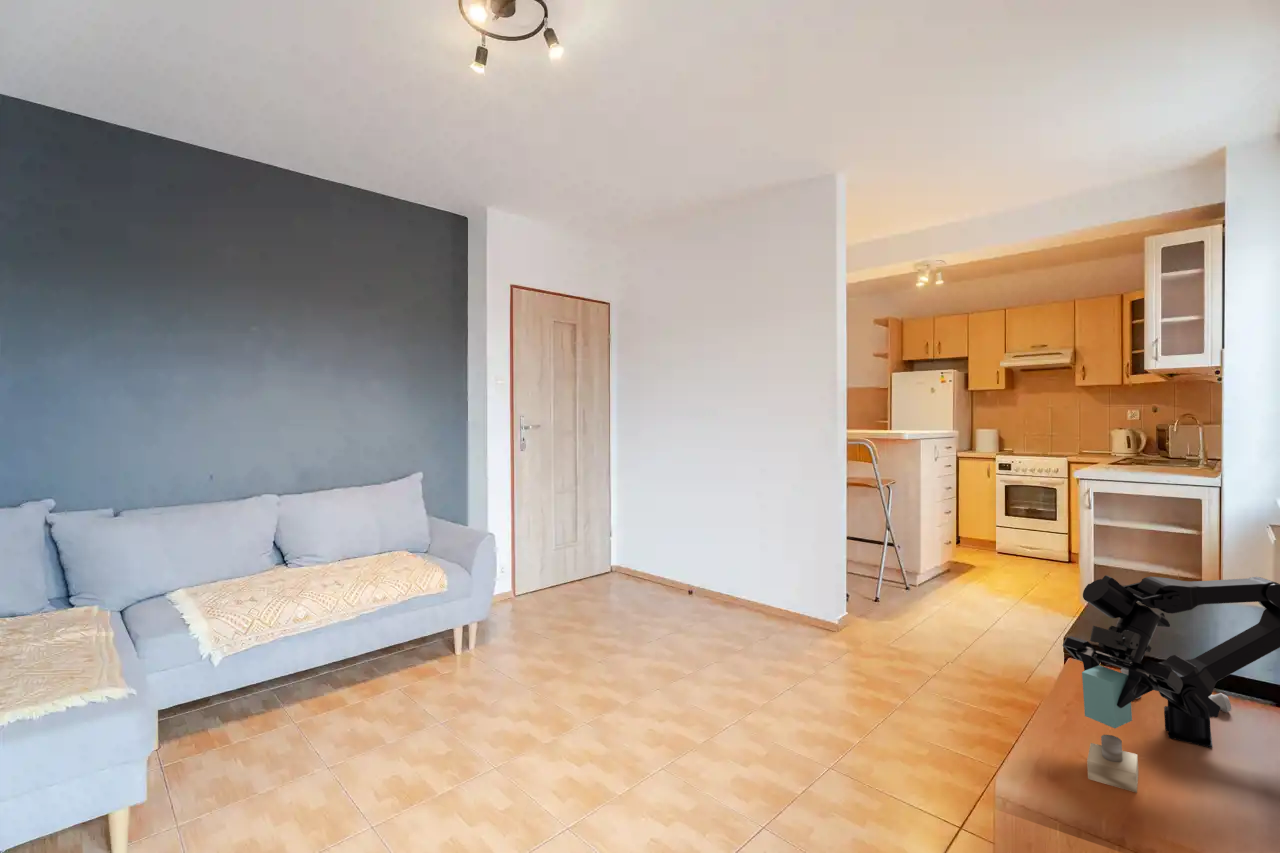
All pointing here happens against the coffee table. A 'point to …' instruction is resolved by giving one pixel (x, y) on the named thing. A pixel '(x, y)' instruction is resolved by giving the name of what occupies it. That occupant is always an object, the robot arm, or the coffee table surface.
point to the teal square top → (1105, 696)
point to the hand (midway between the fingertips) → (1102, 700)
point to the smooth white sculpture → (1221, 701)
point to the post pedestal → (1113, 764)
